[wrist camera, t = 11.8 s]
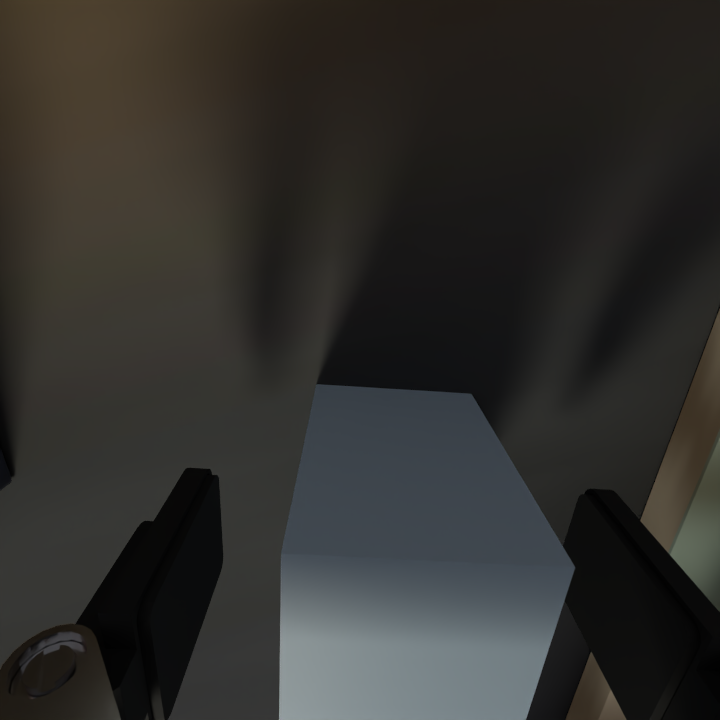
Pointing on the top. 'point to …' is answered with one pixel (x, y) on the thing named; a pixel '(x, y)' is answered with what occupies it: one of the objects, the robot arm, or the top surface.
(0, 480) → the small box
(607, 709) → the rail board
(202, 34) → the top surface
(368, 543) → the blue block
